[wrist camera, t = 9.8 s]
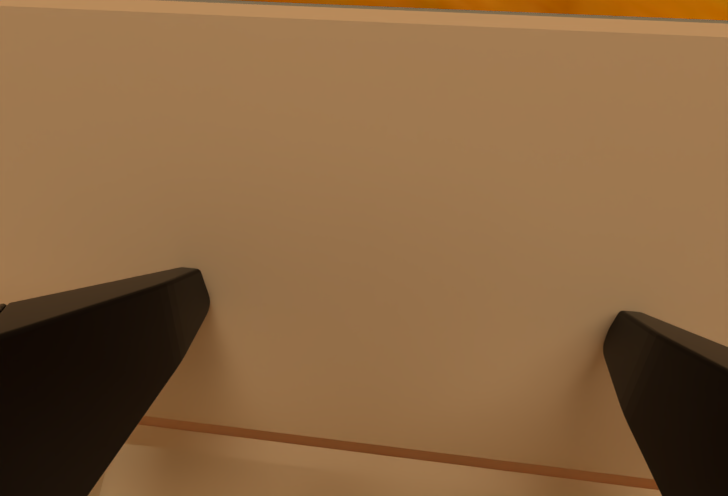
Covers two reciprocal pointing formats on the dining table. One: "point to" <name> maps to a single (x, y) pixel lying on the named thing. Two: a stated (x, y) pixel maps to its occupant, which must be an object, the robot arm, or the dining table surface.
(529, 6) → the dining table surface
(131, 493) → the carton
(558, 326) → the flap
